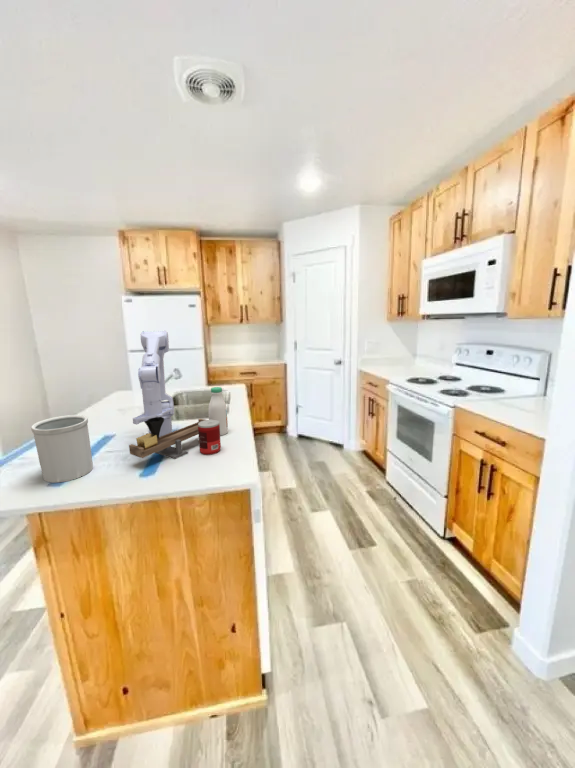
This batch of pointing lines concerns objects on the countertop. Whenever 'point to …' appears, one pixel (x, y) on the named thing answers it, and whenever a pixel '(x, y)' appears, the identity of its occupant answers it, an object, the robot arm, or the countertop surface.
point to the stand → (173, 451)
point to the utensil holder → (63, 447)
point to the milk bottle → (218, 409)
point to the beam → (166, 440)
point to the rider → (147, 441)
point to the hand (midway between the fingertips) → (155, 438)
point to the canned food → (209, 436)
